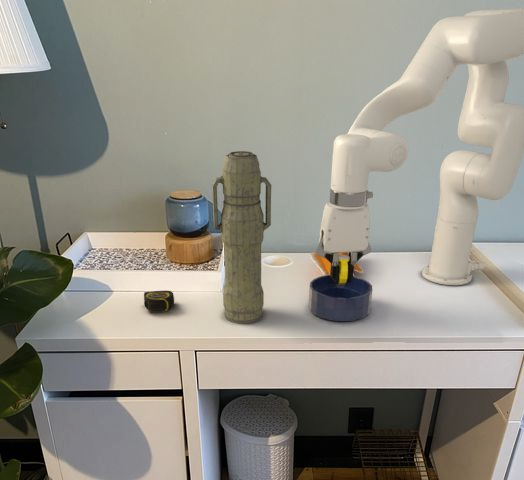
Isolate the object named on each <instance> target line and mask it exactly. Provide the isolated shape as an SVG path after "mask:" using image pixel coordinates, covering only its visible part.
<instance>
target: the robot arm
mask: <svg viewBox="0 0 524 480" xmlns="http://www.w3.org/2000/svg"><path fill="white" fill-rule="evenodd" d="M522 55H524V8H503V9H499V8H497V9H496V8H495V9H491V8H490V9H479V10H475V11H473V10H472V11H470V12H467V13H465V14H464V15H456V16H447V17H444V18H442V19H439V20H438V21H437V22H436V23H435V24H434V25H433V26H432V28H431V29H430V31H429V32H428V34H427V36H426V37H425V39H424V40H423V41H422V43H421V45H420V46H419V48H418V50H417V52H416V53H415V55H414V57H412V60H411V61H410V63H409V64H408V66H407V67H406V69H405V71H404V72H403V74H402V75H401V77H400V78H399V79H398V80H397V81H395V82H394V83H391V85H389V86H388V87H386V88H385V89H383V90H382V91H381V92H380V93H379V94H378V95H376V96H375V97H373V98H372V99H371V100H370V101H369V102H367V104H366V105H365V106H364V107H363V108H362V110H361V111H360V112H359V113H358V115H357V117H356V118H355V120H354V122H353V123H352V124H351V127H350V128H349V130H348V132H347V133H346V134H345V133H343V134H339V135H337V136H336V137H335V138H334V141H333V146H332V161H331V175H330V176H331V178H330V189H329V190H330V191H329V202H326V203H325V205H324V208H323V212H322V216H321V217H322V218H321V222H320V229H319V238H318V245H317V247H316V249H315V252H316V254H317V255H318V256H320V257H323V258H326V259H327V260H328V261H329V262H330V263H331V269H330V277H331V279H332V280H333V281H334V282H335V283H339V274H340V266H339V265H338V258H339V253H341V252H348V256H349V257H350V260H349V261H348V262H347V263H348V275H347V282H348V283H349V282H351V277H353V273H354V274H355V271H354V265H356V263H357V264H358V261H360V259H361V258H362V257H363V256H366V255H369V254H371V253H372V247H371V243H370V233H371V232H370V231H371V225H370V224H371V220H370V219H371V218H370V210H369V208H370V207H369V204H368V200H370V199H373V197H374V193H373V191H369V190H368V186H369V185H368V184H369V175H370V174H369V173H370V172H379V173H381V172H382V173H390V172H393V171H396V170H398V169H399V168H401V167H402V166H403V165H404V164H405V163H406V161H407V158H408V156H409V144H408V143H407V141H406V140H405V138H403V137H402V136H401V135H399V134H397V133H394V132H389V131H385V130H384V131H383V129H385V127H387V125H389V124H390V123H391V122H393V121H395V120H396V119H398V118H399V117H402V116H404V115H408V114H411V113H414V112H417V111H419V110H422V109H424V108H426V107H428V106H431V105H432V104H434V102H436V100H437V99H438V97H439V95H440V94H441V92H442V91H443V89H444V87H445V86H446V84H447V82H448V81H449V79H450V78H451V76H452V75H453V74H454V72H455V70H456V68H457V67H458V66H460V65H466V66H467V69H468V81H467V85H466V90H465V94H464V97H463V101H462V106H461V110H460V114H459V119H458V124H457V128H456V129H457V131H456V134H457V137H458V139H459V140H460V141H461V142H462V143H465V144H468V145H471V146H477V147H483V148H489V149H491V154H489V153H484V152H480V151H474V150H468V149H458V150H454V151H452V152H450V153H448V155H446V157H444V159H443V160H442V162H441V165H440V169H439V201H438V209H437V216H436V222H435V228H434V235H433V240H432V241H433V242H432V246H431V247H432V248H431V253H430V260H429V264H428V265H427V266H424V268H422V270H421V275H422V277H423V278H424V279H425V280H427V281H429V282H432V283H434V284H438V285H444V286H462V285H467V284H469V283H470V282H472V280H473V274H472V272H474V271H484V270H485V269H486V263H485V262H476V260H470V258H471V252H472V247H473V243H474V237H475V232H476V228H477V227H476V226H477V221H478V217H479V203H478V198H481V199H485V200H491V201H498V200H501V199H503V198H505V197H506V196H507V195H508V194H509V193H510V191H511V190H512V188H513V186H514V183H515V181H516V178H517V175H518V171H519V168H520V165H521V161H522V159H523V158H522V157H523V155H524V106H522V105H520V104H516V103H509V102H508V103H507V102H505V97H506V92H507V88H508V84H509V69H508V65H507V62H506V60H510V59H514V58H517V57H520V56H522ZM324 250H325V251H324ZM329 253H330V254H329Z"/></svg>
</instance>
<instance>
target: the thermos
mask: <svg viewBox="0 0 524 480" xmlns="http://www.w3.org/2000/svg"><path fill="white" fill-rule="evenodd" d="M221 171H222V172H221V173H222V174H221V175H220V176H219V177H216V178H215V179H214V181H213V182H212V184H211V193H212V213H213V214H212V216H213V225H214V230H216V231H219V232H220V234H221V235H220V237H221V241H222V243H223V254H224V256H223V257H224V259H223V260H224V284H223V291H222V301H223V303H222V304H223V307H224V308H223V309H224V318H225V319H226V320H227V321H229V322H231V323H234V324H242V325H243V324H244V325H245V324H252V323H256V322H258V321H260V320H261V319H262V318H263V315H264V311H263V308H264V303H265V301H264V297H265V295H264V288H263V286H262V243H263V242H264V234H265V233H264V232H265V230H267V229H268V228H270V227H271V225H272V183H271V182H270V181H269V180H268V178H267V177H265V176H262V174H261V173H262V172H261V168H260V161H259V159H258V155H257V154H255V153H254V152H252V151H246V150H243V151H242V150H240V151H239V150H237V151H231V152H229V153H227V154H226V155H225V158H224V162H223V165H222V169H221ZM262 183H263V184H264V185H265V214H264V212H263V209H262V203H261V202H262V200H261V198H260V197H261V193H262V192H261V190H262V189H261V188H262V187H261V186H262ZM219 184H221V185H222V194H223V201H222V203H223V204H222V206H223V207H222V210H221V213H220V222H219V213H218V212H219V209H218V185H219ZM264 216H265V219H264ZM264 220H265V221H264Z"/></svg>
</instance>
